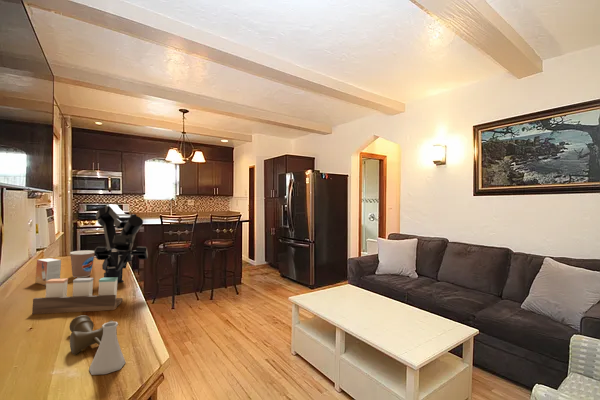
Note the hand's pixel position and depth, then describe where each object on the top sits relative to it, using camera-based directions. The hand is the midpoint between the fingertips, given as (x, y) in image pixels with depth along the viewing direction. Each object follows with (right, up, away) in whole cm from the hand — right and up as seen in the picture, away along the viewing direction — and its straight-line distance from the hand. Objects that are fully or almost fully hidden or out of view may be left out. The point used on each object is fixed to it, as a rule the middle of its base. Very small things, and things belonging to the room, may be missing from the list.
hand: (116, 270), depth 114 cm
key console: (-6, -10, -11) cm, 17 cm away
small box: (-42, -10, +16) cm, 46 cm away
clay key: (-14, -8, -12) cm, 20 cm away
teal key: (+1, -9, -8) cm, 12 cm away
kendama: (+15, -11, -36) cm, 41 cm away
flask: (+28, -11, -47) cm, 56 cm away
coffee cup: (-37, -10, +30) cm, 48 cm away
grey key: (-6, -9, -10) cm, 15 cm away
